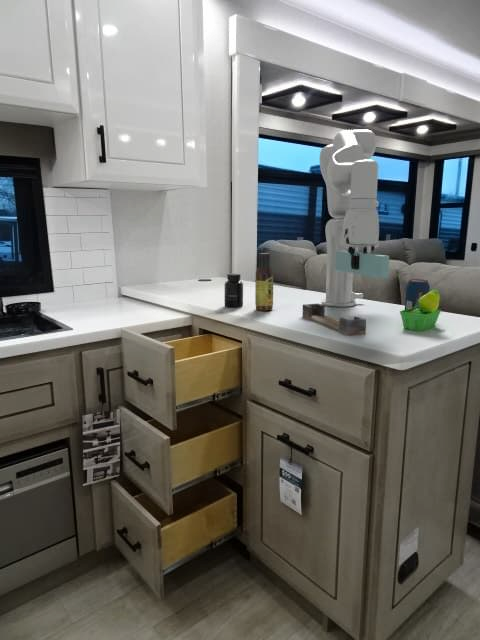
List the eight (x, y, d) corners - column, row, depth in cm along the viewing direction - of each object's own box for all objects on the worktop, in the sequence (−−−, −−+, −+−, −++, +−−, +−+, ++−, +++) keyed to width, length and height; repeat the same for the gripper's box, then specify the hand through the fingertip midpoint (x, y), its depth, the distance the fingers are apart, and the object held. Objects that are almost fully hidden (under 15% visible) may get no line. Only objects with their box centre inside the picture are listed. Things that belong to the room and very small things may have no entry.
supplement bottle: (229, 309, 160) (229, 275, 158) (221, 306, 166) (221, 273, 164) (246, 307, 163) (246, 274, 161) (237, 304, 169) (237, 272, 167)
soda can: (414, 314, 148) (417, 278, 145) (432, 318, 142) (435, 280, 139) (399, 316, 144) (401, 279, 142) (416, 320, 138) (419, 282, 136)
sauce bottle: (271, 311, 154) (272, 253, 150) (253, 311, 156) (253, 253, 151) (274, 308, 161) (274, 252, 156) (257, 307, 162) (257, 252, 158)
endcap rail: (317, 315, 148) (318, 303, 147) (365, 333, 123) (366, 319, 122) (302, 316, 146) (302, 304, 145) (347, 335, 121) (348, 321, 120)
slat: (335, 269, 145) (335, 251, 144) (341, 269, 146) (342, 250, 144) (380, 278, 123) (381, 256, 122) (388, 277, 124) (389, 255, 122)
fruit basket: (415, 322, 136) (418, 285, 134) (445, 327, 130) (448, 288, 128) (397, 328, 129) (399, 289, 126) (427, 333, 122) (430, 293, 120)
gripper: (378, 205, 136) (374, 266, 140) (331, 205, 131) (329, 268, 135) (394, 205, 129) (389, 268, 133) (345, 205, 124) (342, 271, 128)
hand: (359, 268), depth 134 cm, fingers closed on slat, 2 cm apart
